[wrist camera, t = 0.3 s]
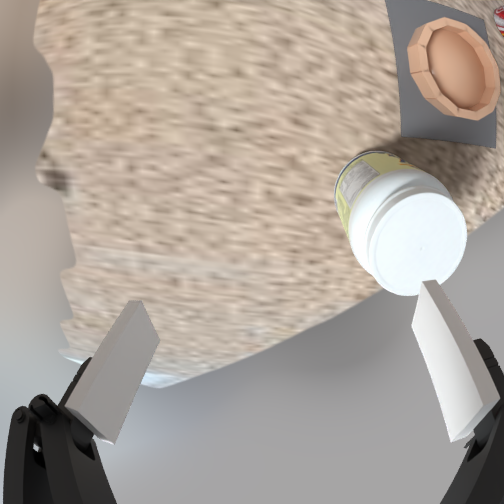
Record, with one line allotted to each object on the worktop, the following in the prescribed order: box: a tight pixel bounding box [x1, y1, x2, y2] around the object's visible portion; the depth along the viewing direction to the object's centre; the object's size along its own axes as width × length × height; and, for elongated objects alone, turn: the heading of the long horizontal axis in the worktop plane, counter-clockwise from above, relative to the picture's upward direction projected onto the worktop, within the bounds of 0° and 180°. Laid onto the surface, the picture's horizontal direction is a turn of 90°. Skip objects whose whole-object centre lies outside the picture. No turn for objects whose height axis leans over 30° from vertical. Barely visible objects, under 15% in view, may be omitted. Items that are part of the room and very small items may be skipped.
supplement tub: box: [334, 151, 467, 296], centre depth 29 cm, size 12×12×17 cm
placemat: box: [385, 0, 496, 148], centre depth 25 cm, size 22×18×1 cm
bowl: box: [407, 17, 501, 120], centre depth 23 cm, size 14×14×4 cm
